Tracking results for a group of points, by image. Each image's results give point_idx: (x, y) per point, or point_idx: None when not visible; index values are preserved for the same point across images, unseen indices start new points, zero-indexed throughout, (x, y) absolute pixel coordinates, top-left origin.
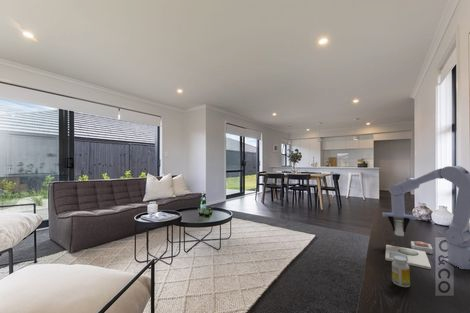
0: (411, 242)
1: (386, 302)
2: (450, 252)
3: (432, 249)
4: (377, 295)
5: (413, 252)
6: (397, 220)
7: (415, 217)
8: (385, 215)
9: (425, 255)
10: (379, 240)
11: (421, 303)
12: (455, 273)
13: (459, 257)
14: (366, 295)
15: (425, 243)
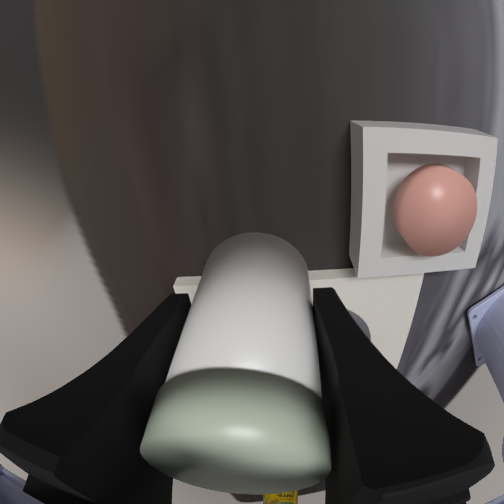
0: (365, 179)
1: (262, 497)
2: (496, 375)
3: (472, 266)
4: (248, 494)
5: None
6: (196, 451)
7: None
8: (17, 493)
9: (401, 341)
10: (95, 153)
11: (308, 490)
12: (436, 399)
13: (498, 384)
14: (235, 496)
15: (469, 210)
